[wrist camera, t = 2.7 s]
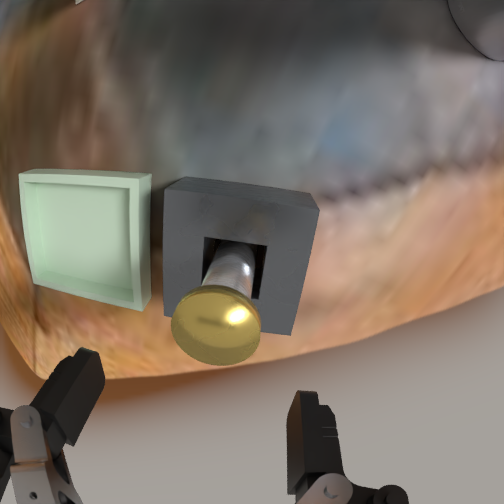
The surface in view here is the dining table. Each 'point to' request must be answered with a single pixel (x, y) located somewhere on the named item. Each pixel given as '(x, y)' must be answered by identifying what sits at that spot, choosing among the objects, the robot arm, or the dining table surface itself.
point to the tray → (89, 233)
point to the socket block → (242, 230)
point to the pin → (221, 309)
